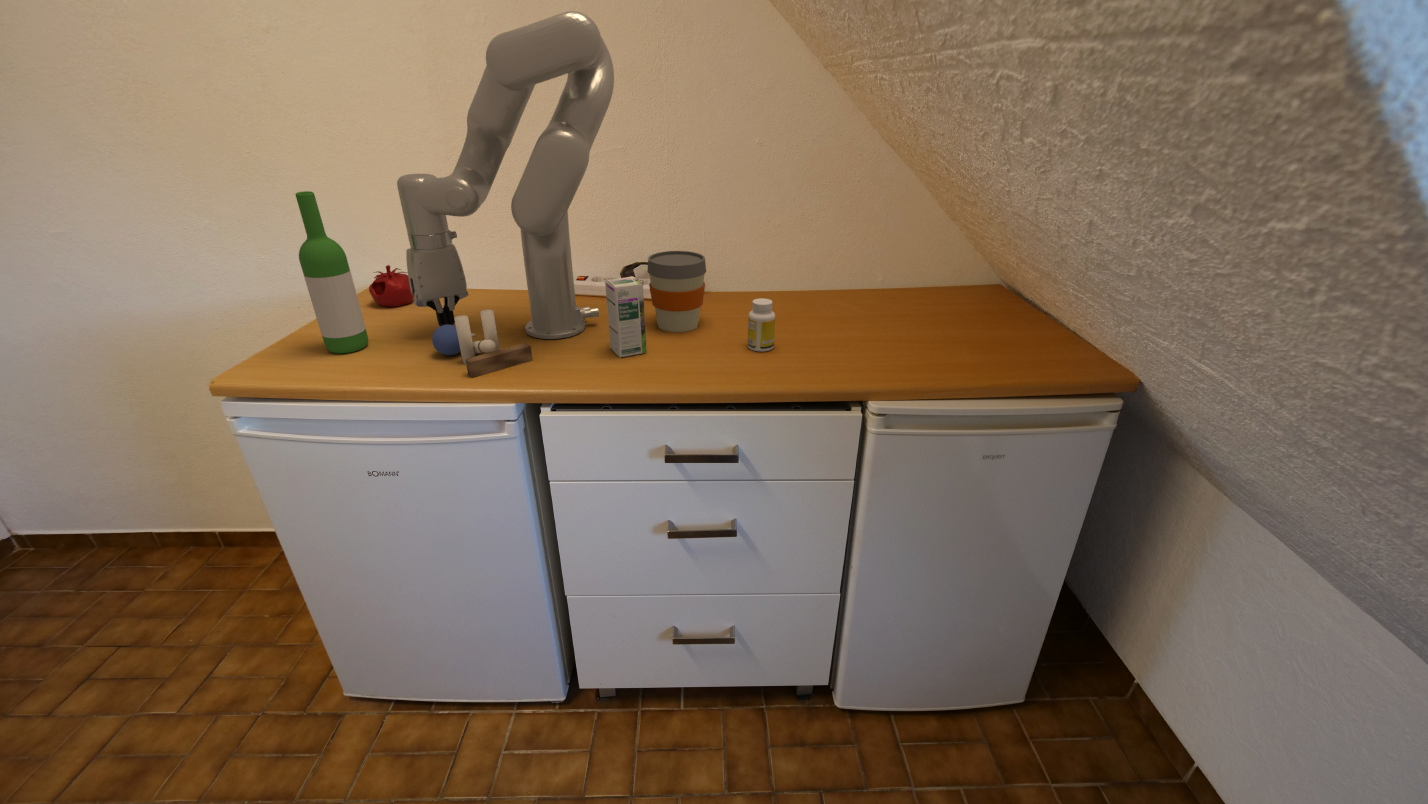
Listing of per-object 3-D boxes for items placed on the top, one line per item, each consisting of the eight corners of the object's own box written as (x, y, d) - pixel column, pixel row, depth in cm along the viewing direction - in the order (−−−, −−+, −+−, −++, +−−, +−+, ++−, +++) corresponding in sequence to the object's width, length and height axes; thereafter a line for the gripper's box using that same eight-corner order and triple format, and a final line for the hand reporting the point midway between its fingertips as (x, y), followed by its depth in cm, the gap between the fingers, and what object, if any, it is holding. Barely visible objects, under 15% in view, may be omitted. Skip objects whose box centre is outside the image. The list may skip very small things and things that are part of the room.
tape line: (473, 334, 133) (473, 333, 133) (475, 335, 132) (475, 334, 132) (435, 343, 128) (435, 342, 128) (437, 345, 127) (437, 344, 127)
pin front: (479, 341, 124) (495, 339, 117) (480, 353, 124) (496, 352, 117) (466, 341, 123) (481, 339, 116) (467, 354, 123) (482, 352, 116)
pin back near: (499, 351, 125) (492, 308, 120) (501, 356, 123) (494, 312, 118) (486, 353, 124) (479, 310, 119) (488, 358, 122) (481, 314, 118)
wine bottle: (340, 358, 121) (293, 198, 107) (318, 349, 125) (270, 193, 111) (378, 345, 127) (338, 191, 113) (355, 337, 130) (314, 187, 116)
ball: (469, 340, 120) (473, 334, 126) (441, 321, 118) (447, 316, 123) (450, 364, 120) (455, 357, 126) (422, 345, 118) (428, 339, 124)
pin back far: (475, 358, 122) (466, 314, 117) (476, 362, 120) (468, 318, 116) (462, 360, 121) (453, 316, 116) (463, 365, 119) (455, 320, 115)
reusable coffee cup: (673, 340, 131) (671, 269, 124) (638, 323, 139) (635, 257, 132) (717, 326, 138) (718, 259, 131) (682, 311, 147) (681, 247, 140)
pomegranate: (413, 295, 156) (406, 257, 152) (421, 305, 149) (414, 267, 145) (369, 300, 151) (361, 262, 147) (375, 312, 144) (366, 272, 140)
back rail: (527, 356, 122) (525, 342, 121) (532, 360, 121) (530, 345, 120) (468, 374, 115) (465, 359, 114) (472, 377, 114) (469, 362, 113)
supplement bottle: (776, 344, 129) (779, 298, 125) (769, 354, 125) (772, 307, 120) (751, 340, 131) (753, 295, 126) (744, 350, 126) (745, 304, 122)
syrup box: (619, 358, 122) (615, 286, 115) (609, 348, 127) (604, 278, 120) (646, 353, 125) (643, 282, 118) (636, 343, 129) (632, 274, 122)
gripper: (459, 232, 130) (474, 315, 139) (383, 243, 121) (404, 331, 130) (474, 238, 125) (489, 324, 134) (397, 250, 116) (417, 342, 125)
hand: (447, 328), depth 132 cm, fingers closed
